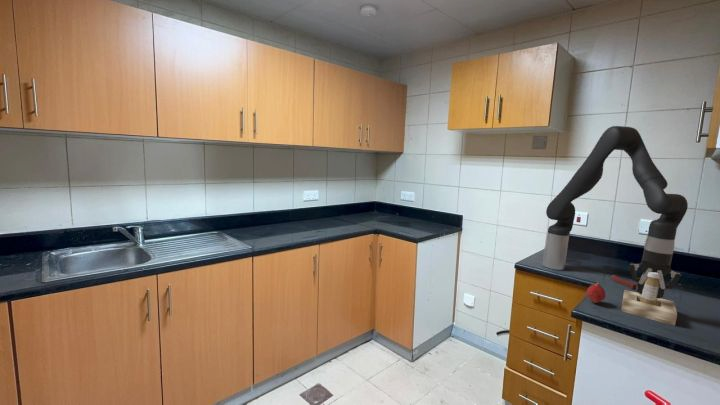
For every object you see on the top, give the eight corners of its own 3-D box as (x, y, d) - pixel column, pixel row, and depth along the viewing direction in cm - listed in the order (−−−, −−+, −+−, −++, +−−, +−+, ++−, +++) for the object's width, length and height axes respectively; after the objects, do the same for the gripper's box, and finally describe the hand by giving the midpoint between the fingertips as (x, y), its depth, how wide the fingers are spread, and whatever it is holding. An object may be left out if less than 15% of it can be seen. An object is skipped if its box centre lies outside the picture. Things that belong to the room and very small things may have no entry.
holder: (621, 311, 116) (623, 300, 115) (622, 299, 126) (624, 289, 126) (674, 325, 107) (677, 314, 106) (671, 311, 117) (673, 301, 116)
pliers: (632, 296, 131) (633, 290, 130) (609, 278, 150) (610, 273, 150) (666, 301, 128) (667, 294, 128) (638, 282, 147) (639, 277, 147)
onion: (581, 299, 124) (584, 279, 123) (595, 299, 125) (598, 279, 123) (593, 306, 118) (596, 285, 117) (607, 306, 119) (611, 286, 118)
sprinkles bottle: (642, 302, 119) (649, 268, 117) (658, 308, 115) (665, 272, 113) (636, 304, 117) (642, 269, 115) (651, 310, 113) (658, 274, 111)
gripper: (631, 247, 115) (623, 292, 117) (688, 257, 106) (677, 305, 108) (632, 243, 120) (624, 286, 123) (685, 252, 111) (675, 298, 114)
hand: (649, 295), depth 116 cm, fingers closed on sprinkles bottle, 4 cm apart
